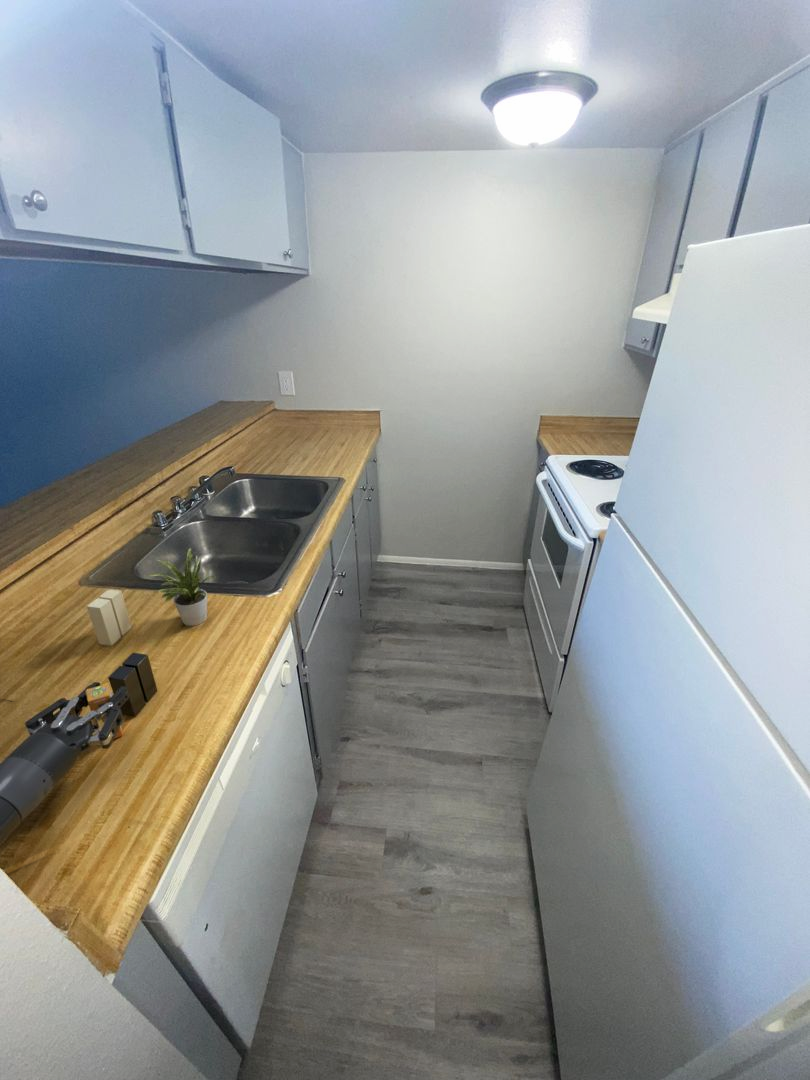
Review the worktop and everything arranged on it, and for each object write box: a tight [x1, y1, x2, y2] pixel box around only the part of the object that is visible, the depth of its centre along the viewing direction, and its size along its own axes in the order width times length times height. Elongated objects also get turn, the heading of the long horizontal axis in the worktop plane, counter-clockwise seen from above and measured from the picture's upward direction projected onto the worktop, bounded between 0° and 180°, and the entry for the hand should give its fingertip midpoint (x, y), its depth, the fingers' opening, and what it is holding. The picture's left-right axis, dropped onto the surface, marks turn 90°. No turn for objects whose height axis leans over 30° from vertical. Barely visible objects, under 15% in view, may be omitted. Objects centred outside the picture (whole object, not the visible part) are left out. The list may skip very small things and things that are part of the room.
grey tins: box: [107, 652, 158, 718], centre depth 86 cm, size 6×3×9 cm, turn 171°
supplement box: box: [85, 682, 124, 740], centre depth 79 cm, size 3×3×10 cm
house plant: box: [145, 547, 216, 627], centre depth 107 cm, size 14×14×16 cm
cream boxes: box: [86, 588, 132, 647], centre depth 102 cm, size 6×3×10 cm, turn 171°
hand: (111, 688), depth 80 cm, fingers closed on supplement box, 4 cm apart
